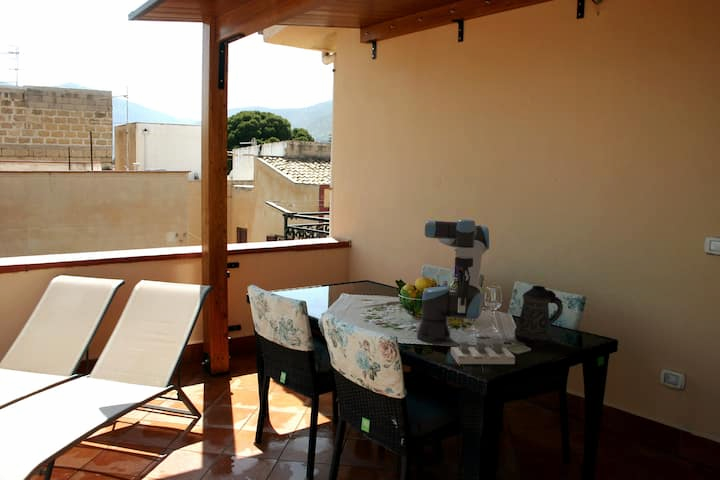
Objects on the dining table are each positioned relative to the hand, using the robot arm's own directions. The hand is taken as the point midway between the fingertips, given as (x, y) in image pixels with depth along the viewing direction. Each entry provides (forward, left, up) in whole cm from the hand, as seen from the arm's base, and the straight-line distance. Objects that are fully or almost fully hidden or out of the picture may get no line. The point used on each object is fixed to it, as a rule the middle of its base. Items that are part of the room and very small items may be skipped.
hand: (461, 312), depth 249 cm
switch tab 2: (+7, +7, -15) cm, 18 cm away
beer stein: (-18, +40, -17) cm, 47 cm away
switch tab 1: (+7, 0, -15) cm, 16 cm away
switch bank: (+9, +7, -17) cm, 21 cm away
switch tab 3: (+7, +14, -15) cm, 21 cm away
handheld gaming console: (-6, +24, -18) cm, 30 cm away
